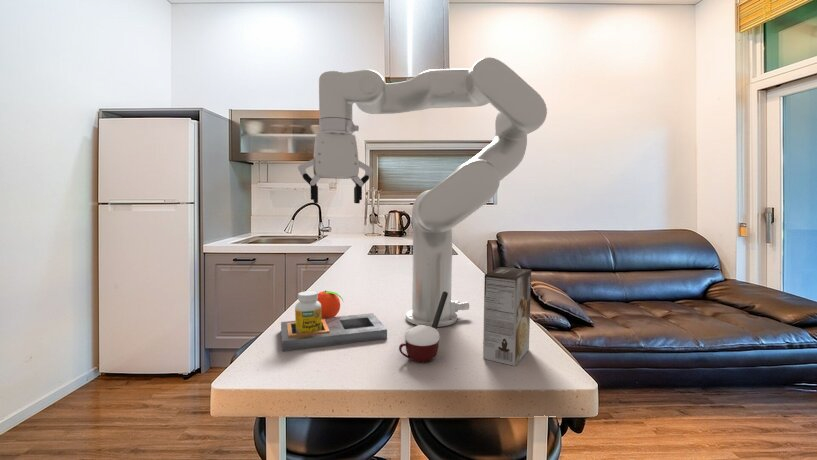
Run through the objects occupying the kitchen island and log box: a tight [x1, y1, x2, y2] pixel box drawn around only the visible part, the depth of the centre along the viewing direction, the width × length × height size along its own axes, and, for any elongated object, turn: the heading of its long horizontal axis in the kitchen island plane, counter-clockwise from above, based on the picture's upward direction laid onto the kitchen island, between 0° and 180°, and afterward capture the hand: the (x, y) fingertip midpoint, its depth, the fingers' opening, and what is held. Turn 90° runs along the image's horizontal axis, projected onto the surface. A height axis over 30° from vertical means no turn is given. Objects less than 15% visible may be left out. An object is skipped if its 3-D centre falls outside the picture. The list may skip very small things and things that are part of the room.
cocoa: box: [398, 291, 448, 364], centre depth 70 cm, size 10×6×12 cm, turn 91°
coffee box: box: [482, 266, 533, 367], centre depth 72 cm, size 9×6×16 cm
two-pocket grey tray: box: [280, 312, 388, 352], centre depth 82 cm, size 21×12×2 cm, turn 110°
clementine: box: [317, 290, 344, 318], centre depth 93 cm, size 8×7×7 cm
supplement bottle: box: [294, 290, 322, 333], centre depth 80 cm, size 5×5×10 cm
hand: (336, 203), depth 89 cm, fingers open, 9 cm apart
